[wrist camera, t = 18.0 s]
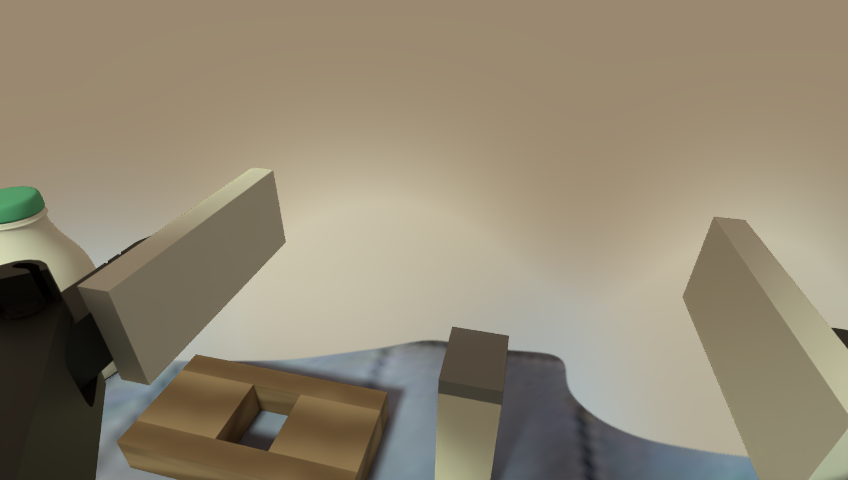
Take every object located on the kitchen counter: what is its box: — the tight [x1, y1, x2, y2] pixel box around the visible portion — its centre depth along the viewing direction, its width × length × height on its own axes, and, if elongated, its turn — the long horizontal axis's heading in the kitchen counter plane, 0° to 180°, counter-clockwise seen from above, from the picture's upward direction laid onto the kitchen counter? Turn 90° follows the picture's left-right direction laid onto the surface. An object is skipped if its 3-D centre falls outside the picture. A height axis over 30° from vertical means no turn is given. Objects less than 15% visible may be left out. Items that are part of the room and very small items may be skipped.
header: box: [117, 355, 389, 480], centre depth 40 cm, size 10×20×4 cm, turn 77°
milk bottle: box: [0, 186, 117, 379], centre depth 43 cm, size 8×8×20 cm
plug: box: [435, 327, 509, 480], centre depth 34 cm, size 5×4×15 cm
